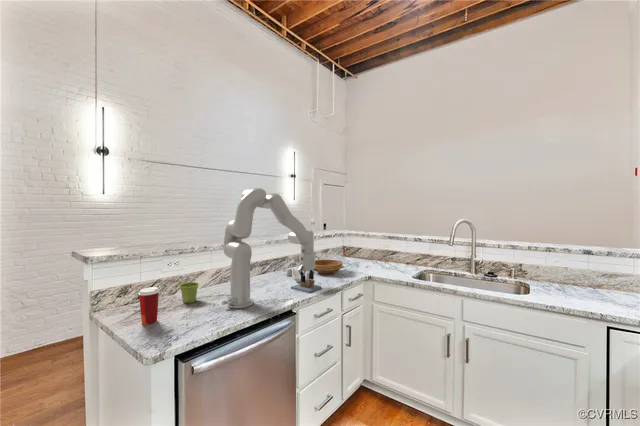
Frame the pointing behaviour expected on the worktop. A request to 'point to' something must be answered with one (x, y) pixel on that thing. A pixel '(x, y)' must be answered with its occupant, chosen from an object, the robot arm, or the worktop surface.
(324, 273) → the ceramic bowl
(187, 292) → the plant pot
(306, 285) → the collar
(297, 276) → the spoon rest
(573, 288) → the worktop surface
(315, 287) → the post board
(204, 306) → the worktop surface
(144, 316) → the paper cup
